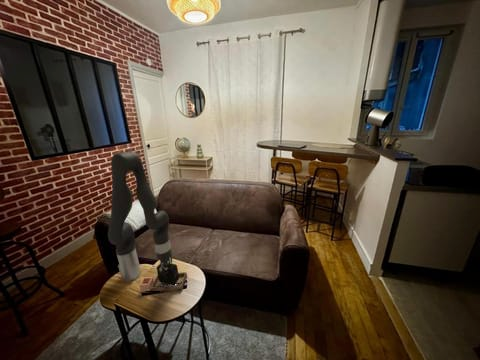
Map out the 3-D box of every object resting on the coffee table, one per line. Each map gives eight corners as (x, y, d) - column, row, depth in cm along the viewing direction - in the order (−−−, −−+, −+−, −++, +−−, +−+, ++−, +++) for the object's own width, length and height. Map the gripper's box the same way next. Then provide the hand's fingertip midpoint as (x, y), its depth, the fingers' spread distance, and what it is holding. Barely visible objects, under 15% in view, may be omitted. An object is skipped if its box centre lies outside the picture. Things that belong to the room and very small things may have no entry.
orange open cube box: (141, 292, 102) (139, 284, 100) (145, 284, 107) (143, 277, 105) (150, 292, 102) (148, 284, 100) (154, 284, 107) (152, 277, 105)
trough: (151, 292, 102) (150, 288, 101) (159, 276, 112) (158, 273, 111) (181, 291, 101) (181, 287, 101) (187, 276, 111) (186, 272, 111)
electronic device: (175, 285, 103) (172, 269, 100) (159, 281, 105) (156, 266, 102) (179, 279, 106) (176, 264, 104) (163, 276, 109) (161, 261, 106)
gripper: (161, 240, 107) (166, 266, 112) (149, 257, 93) (156, 286, 98) (174, 240, 107) (179, 265, 112) (165, 257, 93) (170, 285, 98)
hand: (168, 275), depth 105 cm, fingers closed on electronic device, 3 cm apart
